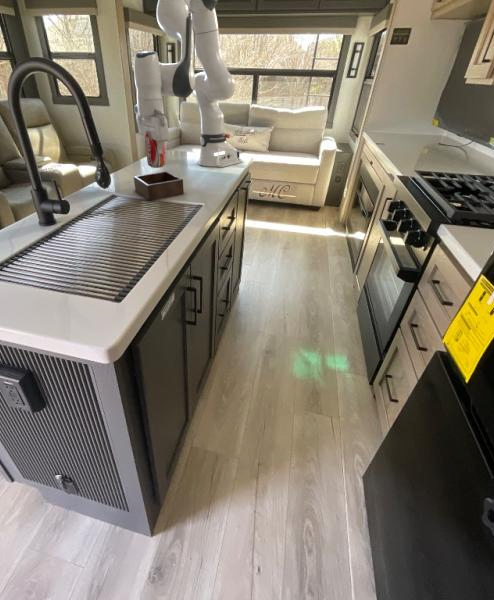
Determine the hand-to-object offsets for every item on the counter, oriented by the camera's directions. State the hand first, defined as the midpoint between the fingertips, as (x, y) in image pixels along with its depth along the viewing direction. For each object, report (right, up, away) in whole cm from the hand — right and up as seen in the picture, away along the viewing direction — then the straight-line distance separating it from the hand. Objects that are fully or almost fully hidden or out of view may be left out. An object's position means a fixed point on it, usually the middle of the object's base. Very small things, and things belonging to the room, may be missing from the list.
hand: (155, 151), depth 122 cm
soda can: (0, -4, +3) cm, 6 cm away
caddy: (0, -12, +9) cm, 15 cm away
